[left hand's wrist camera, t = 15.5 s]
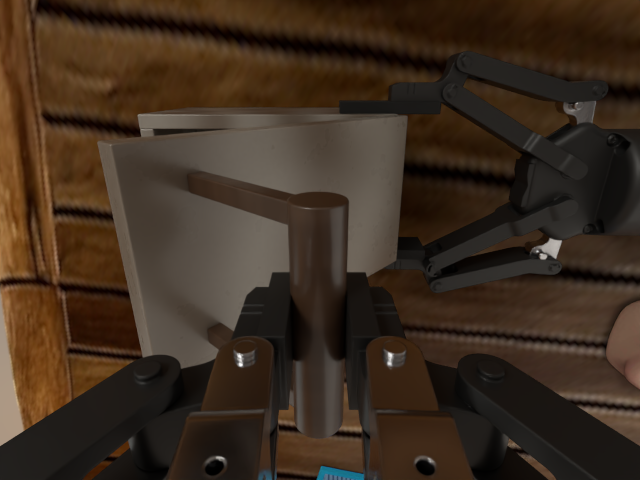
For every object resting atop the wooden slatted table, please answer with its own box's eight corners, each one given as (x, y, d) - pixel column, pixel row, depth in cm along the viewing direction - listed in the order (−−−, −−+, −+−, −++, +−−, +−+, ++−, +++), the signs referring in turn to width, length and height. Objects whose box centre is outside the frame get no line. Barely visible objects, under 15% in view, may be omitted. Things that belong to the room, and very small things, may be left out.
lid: (148, 381, 16) (275, 519, 11) (96, 140, 12) (251, 177, 7) (382, 256, 27) (496, 294, 22) (392, 114, 24) (530, 121, 19)
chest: (201, 213, 37) (160, 252, 28) (188, 107, 33) (137, 114, 24) (374, 214, 36) (388, 255, 28) (380, 107, 33) (398, 114, 24)
